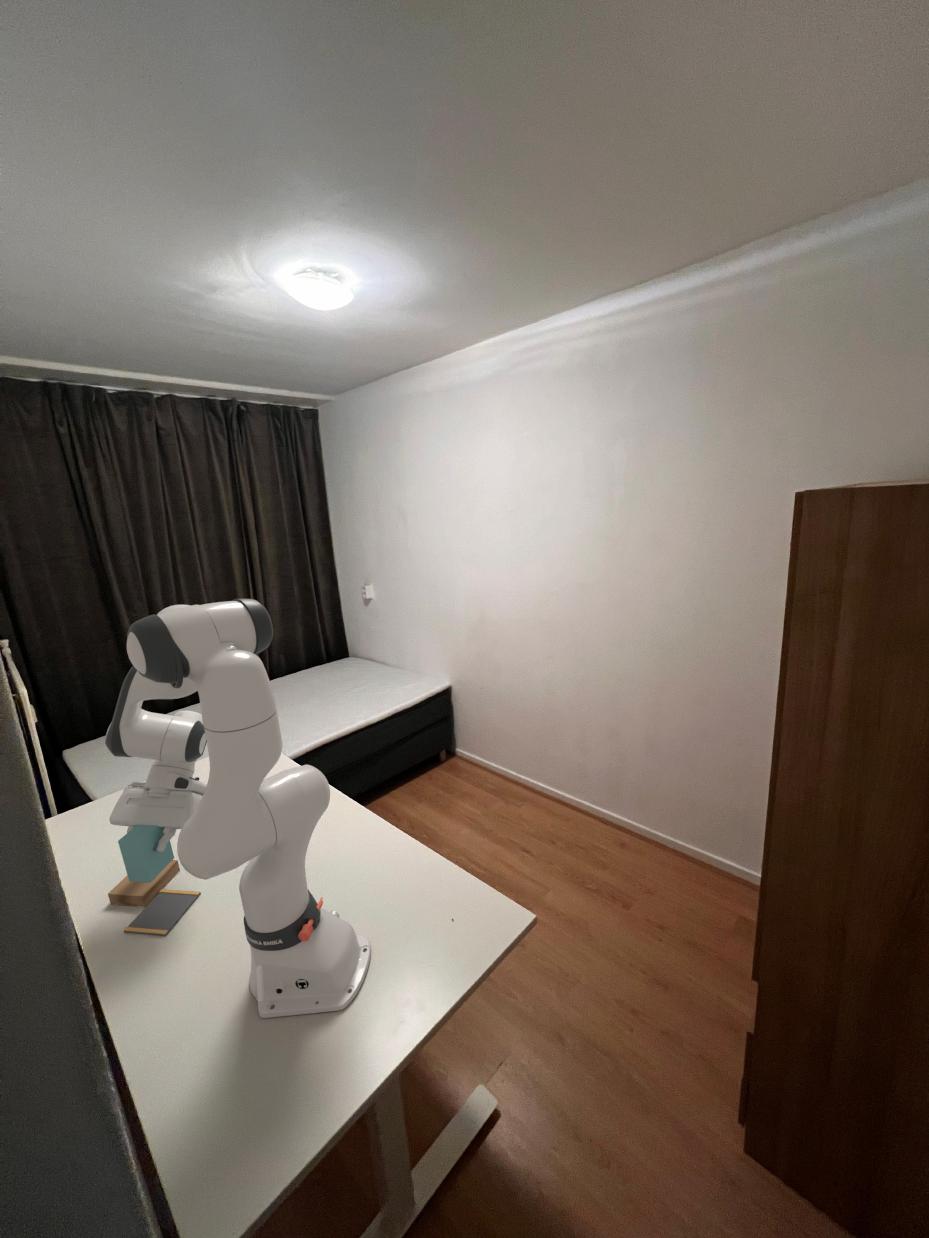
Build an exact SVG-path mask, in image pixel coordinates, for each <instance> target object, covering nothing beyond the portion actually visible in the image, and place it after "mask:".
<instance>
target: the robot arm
mask: <svg viewBox="0 0 929 1238" xmlns="http://www.w3.org/2000/svg"><path fill="white" fill-rule="evenodd" d="M273 636H274V627H273V620H272V618H271V615H270V613H269V612H268V610H267V609H266V607H265V606H264V605H263V604H261V603H260V602H259V601H258V600H256V599H253V598H234V599H232V600H228V601H217V602H211V603H204V604H192V605H190V604H174V605H169V606H168V607H165V608H163V609H162V610H160V611H159V612H157V614H150V615H147V616H146V617H143V618H141V619H138V620H136V621H134V622H133V623H132V624H131V625H130V627H129V628H128V630H127V634H126V638H127V639H126V652H127V655H128V656H127V657H128V659H129V661H130V663H131V664H132V666H131V668H130V669H129V671H128V672H127V674H126V676H125V678H124V679H123V682H122V685H121V687H120V691H119V693H118V698H117V702H116V704H115V709H114V713H113V715H112V720H111V722H110V724H109V726H108V728H107V731H106V734H105V742H104V743H105V746H106V747H107V750H109V752H110V753H111V754H112V755H113V757H121V758H122V757H123V758H138V759H147V760H148V759H149V760H154V762H153V763H152V764H151V767H150V769H149V772H148V775H147V778H146V780H145V782H143V781H142V782H138V781H134V782H132V783H130V784H129V785H127V786H125V788H124V789H123V792H122V793H121V795H120V796H119V798H118V799H117V802H116V804H115V805H114V807H113V809H112V812H111V814H110V815H109V823H110V825H113V826H118V827H127V831H126V834H127V833H128V832H129V831H130V830H132V829H133V828H134V827H135V826H136V825H137V824H139V825H157V826H158V827H165V828H164V831H163V833H165V834H164V836H163V837H162V838H161V840H160V841H159V842H155V844H154V847H153V851H157V852H163V851H164V850H165V847H166V844H167V843H168V842H169V841H170V842H171V839H173V837H174V836H175V835H176V832H177V830H180V832H179V833H178V834H179V835H178V837H177V844H176V852H177V856H178V857H177V858H178V860H179V862H180V864H181V866H182V867H183V869H184V870H185V871H186V872H187V873H188V874H190V875H191V876H193V877H195V878H198V879H200V880H209V879H211V878H215V877H218V876H220V875H223V874H225V873H228V872H230V871H232V870H235V869H237V868H239V867H241V866H243V865H244V864H246V866H245V867H244V869H243V871H242V873H241V876H240V880H239V887H238V889H239V893H240V895H239V896H240V899H241V904H242V909H243V913H244V915H243V925H244V927H243V928H244V932H245V936H246V941H247V942H248V944H249V947H250V957H251V958H250V965H251V966H250V974H249V984H248V985H249V990H250V992H251V995H252V996H253V998H254V999H255V1000H256V1003H257V1012H258V1016H259V1017H260V1018H263V1019H267V1018H277V1017H287V1016H296V1015H306V1014H317V1013H327V1012H336V1011H342V1010H343V1009H345V1008H346V1007H347V1006H348V1005H350V1003H352V1001H353V1000H354V998H355V997H356V996H357V994H358V993H359V991H360V989H361V987H362V985H363V983H364V982H365V981H364V980H365V978H366V975H367V972H368V970H369V969H368V968H369V967H370V961H371V955H372V950H371V949H372V948H371V947H372V946H371V944H370V940H369V937H368V936H365V935H362V934H359V933H356V932H355V929H354V927H353V925H352V924H351V923H349V922H348V921H346V920H344V919H342V918H340V914H339V913H338V912H337V911H335V910H331V911H327V910H326V909H324V908H322V907H323V904H324V900H323V899H324V898H323V897H320V899H319V901H318V902H317V900H316V899H315V897H314V896H313V894H312V893H311V892H310V890H309V888H308V881H307V876H306V874H307V873H306V856H307V852H308V848H309V845H310V841H311V837H312V836H313V833H314V830H315V828H316V826H317V824H318V823H319V820H320V819H321V818H322V816H323V815H324V813H325V812H326V811H327V809H328V807H329V804H330V800H331V788H330V785H329V781H328V779H327V778H326V776H325V774H323V772H322V771H321V770H319V769H318V768H316V767H315V766H313V765H310V764H304V765H299V766H296V767H292V768H288V769H284V770H282V771H280V772H278V773H275V774H273V775H271V776H269V777H268V778H266V777H267V775H268V774H269V773H270V772H271V771H272V770H273V768H274V767H275V766H276V765H277V763H278V762H279V760H280V758H281V755H282V751H283V739H282V733H281V727H280V721H279V716H278V709H277V706H276V705H277V704H276V699H275V695H274V690H273V687H272V684H271V681H270V678H269V676H268V673H267V670H266V667H265V665H264V663H263V661H262V660H261V658H260V657H259V656H258V654H260V653H262V652H263V651H265V650H266V649H268V648H269V646H270V645H271V643H272V640H273ZM196 692H197V693H198V698H199V705H200V711H201V713H200V712H198V711H194V710H188V709H185V710H178V711H177V712H175V713H174V715H171V714H166V713H165V714H164V713H158V712H151V711H148V710H145V709H143V708H142V707H143V702H144V701H151V700H175V699H181V698H185V697H189V696H190V695H192V694H194V693H196ZM206 745H207V752H208V759H209V760H208V761H209V772H208V773H209V775H208V781H207V784H206V783H204V782H202V781H200V780H199V781H197V779H196V778H195V777H193V776H194V774H195V767H196V762H197V760H198V759H200V758H201V757H202V756H204V755H203V754H204V753H205V752H204V751H205V749H206Z"/></svg>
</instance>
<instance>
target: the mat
mask: <svg viewBox="0 0 929 1238" xmlns="http://www.w3.org/2000/svg"><path fill="white" fill-rule="evenodd" d="M201 894H202V892H201V891H194V890H191V891H190V890H183V889H181V890H179V889H168V888H167V889H165V888H163V889H161V890H160V892H159V894H158V895H157V896H156V897H155V898H154V899H153V900H152V901H151V902H150V903H149V904H148V905H147V906H146V907H144V909H142V911H140V913H139V914H138V915H137V916H136V917H135V918H134V919H133V920H132V921H131V922H130V924H129V925H127V926H126V927H125V928H124V929H122V930H123V933H125V934H132V935H133V934H134V935H144V936H147V935H148V936H157V937H167V936H168V935H169V933H170V932H171V931H172V930H174V928H175V927H176V925H177V924H178V923H179V922H180V920H181V919H182V918H183V917H184V915H185V914H186V913H187V912H188V910H189V909H190V908H191V907H192V906H193V905H194V903H195V902H196V901H197V900H198V899H199V897H200V896H201Z"/></svg>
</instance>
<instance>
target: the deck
mask: <svg viewBox="0 0 929 1238" xmlns="http://www.w3.org/2000/svg"><path fill="white" fill-rule="evenodd" d="M178 860H179V859H176V860H175V859H173V860H172V861H171V862H170V863H169V864H168V865H167V866H166V867H165V868H164V869H163V870H162V871H161V872H160V873H159V875H158V876H157V877H156V878H155V879H154V880H153V881H152V882H151V883H146V882H133V881H129V878H128V875H127V874H126V875H125V877H123V878H122V880H120V882H119V883H117V885H115V886H114V887H113V888H112V889H110V891H109V892H108V893H107V897H108V899H109V904H110V905H111V906H125V907H138V908H145V907H146V906H147V905H148V904H149V903H150V902H151V901H152V900H153V899H154V898H155V897H156V896H157V895H158V894H159V892H160V890H161V889H165V887H166V886H168V884H169V883H170V882H172V880H173V879H174V878H175V876H177V874H178V873H179V872H180V871H181V869H180V865H179V861H178Z"/></svg>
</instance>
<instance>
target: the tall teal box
mask: <svg viewBox="0 0 929 1238" xmlns="http://www.w3.org/2000/svg"><path fill="white" fill-rule="evenodd" d="M164 828H165V827H158V826H157V825H139V824H137V825H136V826H135V827H134V828H133V829H132V830H130V831H129V832H128V833H127V832H126V834H125V835H123V836H122V837H121V838H119V840H118V841H117V843H118V846H119V851H120V854H121V858H122V861H123V864H124V866H125V871H126V876H127V875H128V878H129V881H133V882H146V883H151V882H152V881H153V880H154V879H155V878H156V877H157V876H158V875H159V873H160V872H161V871H162V870H163V869H164V868H165V867H166V866H167V865H168V864H169V863H170V862H171V861H172V860H175V855H174V851H173V848H172V843H171V840H170V841H169V842H168V843H167V844H166V847H165V850H164V851H163V852H157V851H153V847H154V844H155V842H159V841H160V840H161V838H162V837H163V836H164V834H165V833H163V831H164Z"/></svg>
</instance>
